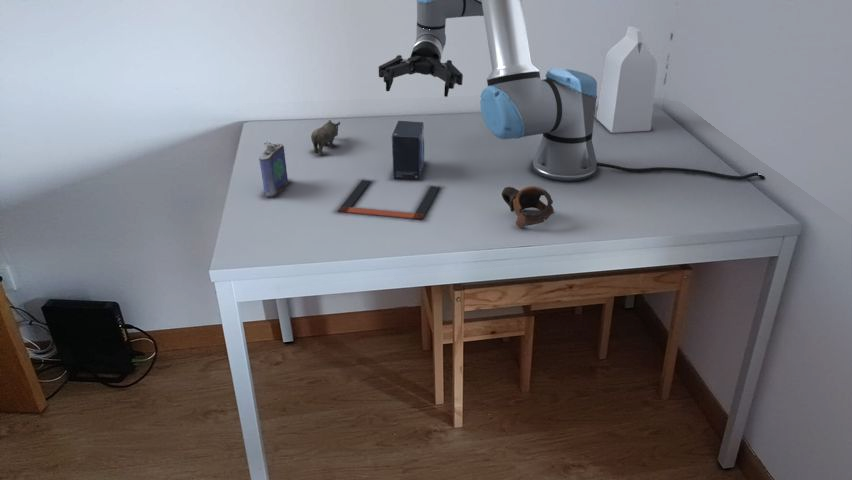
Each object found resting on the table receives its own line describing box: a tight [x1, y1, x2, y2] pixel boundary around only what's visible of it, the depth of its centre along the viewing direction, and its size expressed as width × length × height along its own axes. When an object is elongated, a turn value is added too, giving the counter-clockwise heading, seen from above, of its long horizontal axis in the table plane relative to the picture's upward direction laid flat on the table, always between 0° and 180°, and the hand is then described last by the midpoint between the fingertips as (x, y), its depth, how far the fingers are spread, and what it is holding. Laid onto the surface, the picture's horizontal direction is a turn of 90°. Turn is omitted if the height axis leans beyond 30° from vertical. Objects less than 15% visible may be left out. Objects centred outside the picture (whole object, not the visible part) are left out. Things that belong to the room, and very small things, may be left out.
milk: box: [596, 25, 658, 134], centre depth 189 cm, size 12×12×26 cm
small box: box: [391, 120, 425, 180], centre depth 161 cm, size 11×6×10 cm, turn 179°
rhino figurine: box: [310, 119, 341, 156], centre depth 174 cm, size 4×14×6 cm, turn 167°
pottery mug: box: [501, 185, 555, 229], centre depth 143 cm, size 12×10×8 cm
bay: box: [337, 179, 440, 221], centre depth 150 cm, size 18×16×1 cm
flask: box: [258, 141, 289, 198], centre depth 150 cm, size 9×3×11 cm, turn 172°
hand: (416, 88), depth 161 cm, fingers open, 13 cm apart
